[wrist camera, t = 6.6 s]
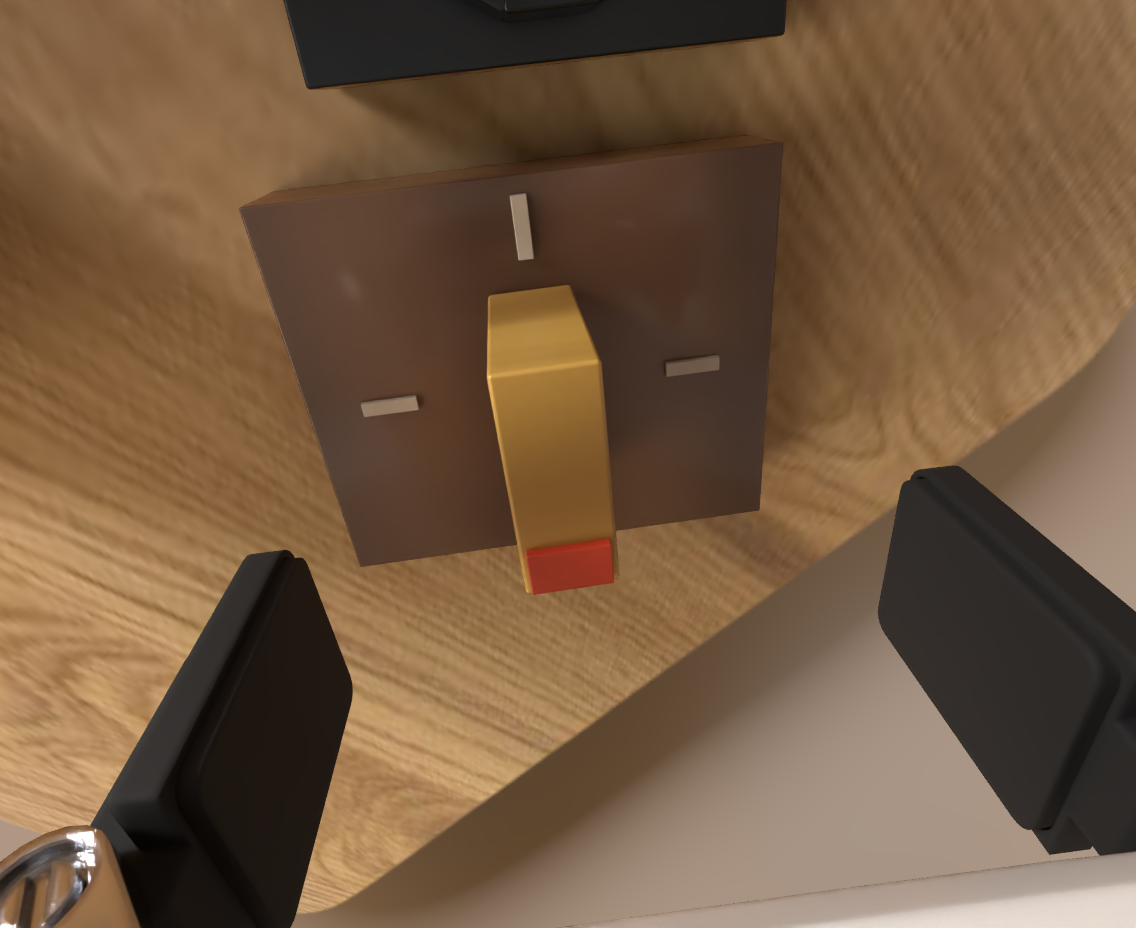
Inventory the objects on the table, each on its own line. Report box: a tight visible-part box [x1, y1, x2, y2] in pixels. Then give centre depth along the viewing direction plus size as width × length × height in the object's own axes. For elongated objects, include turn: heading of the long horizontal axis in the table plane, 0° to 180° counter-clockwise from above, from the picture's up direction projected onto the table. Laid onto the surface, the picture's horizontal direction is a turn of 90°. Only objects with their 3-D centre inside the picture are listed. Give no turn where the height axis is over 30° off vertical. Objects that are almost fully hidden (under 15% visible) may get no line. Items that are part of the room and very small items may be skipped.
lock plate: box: [239, 135, 783, 567], centre depth 18 cm, size 12×10×3 cm
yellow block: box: [487, 285, 620, 595], centre depth 14 cm, size 5×2×5 cm, turn 6°
